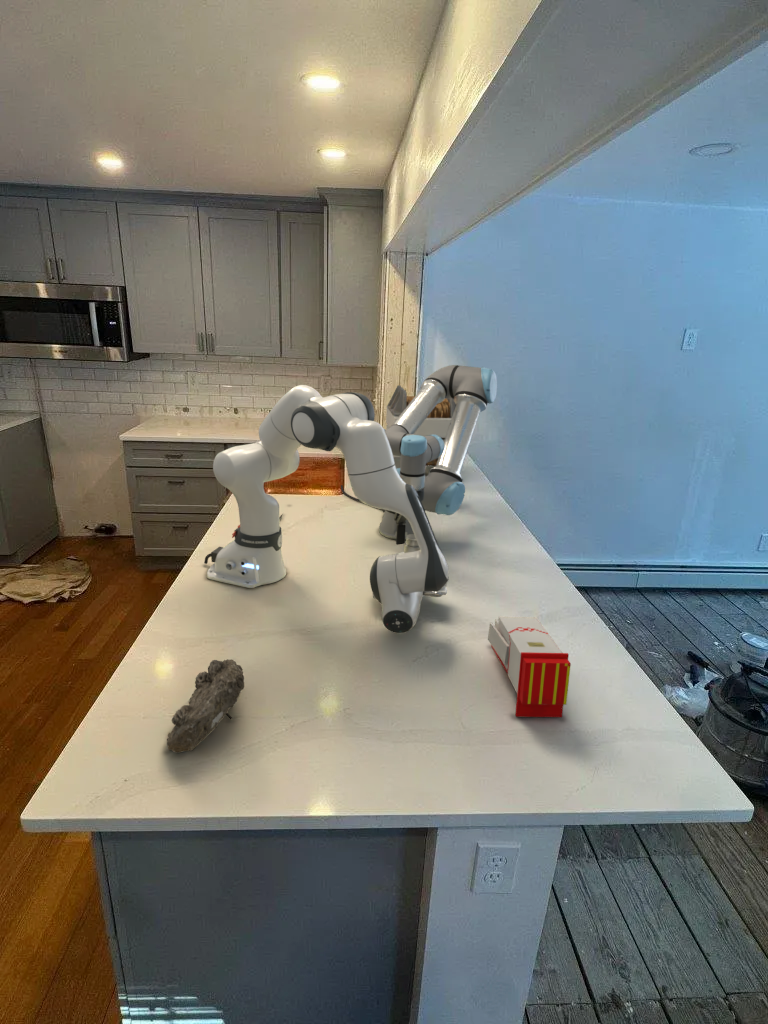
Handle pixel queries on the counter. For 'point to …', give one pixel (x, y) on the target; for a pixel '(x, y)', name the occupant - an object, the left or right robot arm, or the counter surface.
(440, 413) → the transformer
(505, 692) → the counter surface
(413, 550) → the jar
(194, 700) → the fossil
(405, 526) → the right robot arm
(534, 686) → the toy
